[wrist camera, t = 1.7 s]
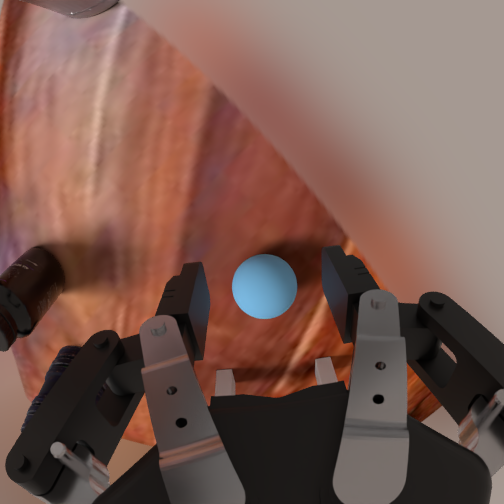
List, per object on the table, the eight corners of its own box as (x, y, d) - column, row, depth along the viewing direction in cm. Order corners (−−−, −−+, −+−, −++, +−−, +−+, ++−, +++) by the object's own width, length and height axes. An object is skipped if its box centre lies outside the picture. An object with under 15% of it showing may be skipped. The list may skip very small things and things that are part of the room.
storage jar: (64, 377, 39) (33, 449, 26) (52, 337, 35) (9, 416, 22) (117, 394, 41) (95, 473, 27) (112, 356, 36) (79, 447, 23)
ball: (228, 247, 29) (226, 280, 24) (290, 239, 29) (301, 271, 24) (237, 297, 32) (237, 335, 27) (293, 290, 32) (302, 327, 27)
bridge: (216, 370, 38) (212, 432, 29) (330, 356, 37) (347, 416, 28) (220, 383, 39) (218, 443, 30) (329, 370, 38) (344, 428, 30)
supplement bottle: (41, 235, 28) (-22, 293, 17) (76, 280, 31) (27, 350, 20) (16, 262, 29) (-38, 318, 19) (48, 301, 32) (4, 366, 21)
